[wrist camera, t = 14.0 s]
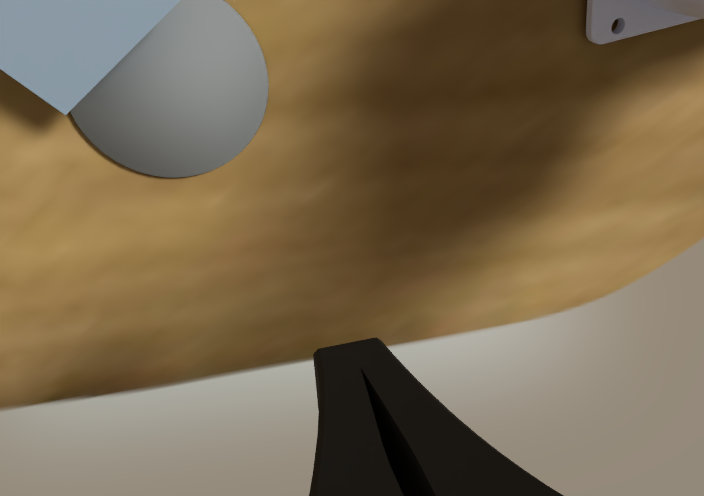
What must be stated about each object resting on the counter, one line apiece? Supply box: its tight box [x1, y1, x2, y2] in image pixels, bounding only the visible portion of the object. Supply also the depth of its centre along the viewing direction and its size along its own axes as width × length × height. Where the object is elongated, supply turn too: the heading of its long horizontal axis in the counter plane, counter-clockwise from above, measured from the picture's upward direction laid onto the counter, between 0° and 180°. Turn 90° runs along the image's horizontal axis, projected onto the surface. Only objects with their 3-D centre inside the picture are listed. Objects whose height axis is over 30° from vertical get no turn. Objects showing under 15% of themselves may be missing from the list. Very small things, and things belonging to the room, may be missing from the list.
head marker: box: [70, 0, 268, 178], centre depth 17 cm, size 6×6×1 cm
